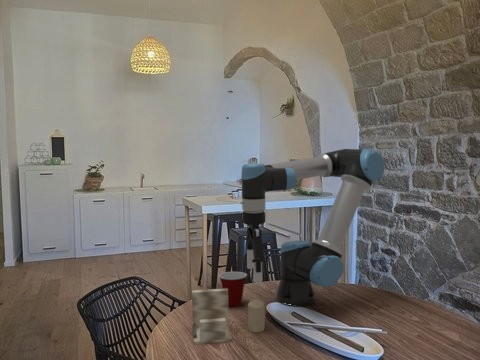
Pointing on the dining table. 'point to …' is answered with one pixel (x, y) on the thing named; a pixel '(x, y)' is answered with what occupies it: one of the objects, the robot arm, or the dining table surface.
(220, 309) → the beige u-shaped bracket
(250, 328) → the candle
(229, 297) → the plastic cup
